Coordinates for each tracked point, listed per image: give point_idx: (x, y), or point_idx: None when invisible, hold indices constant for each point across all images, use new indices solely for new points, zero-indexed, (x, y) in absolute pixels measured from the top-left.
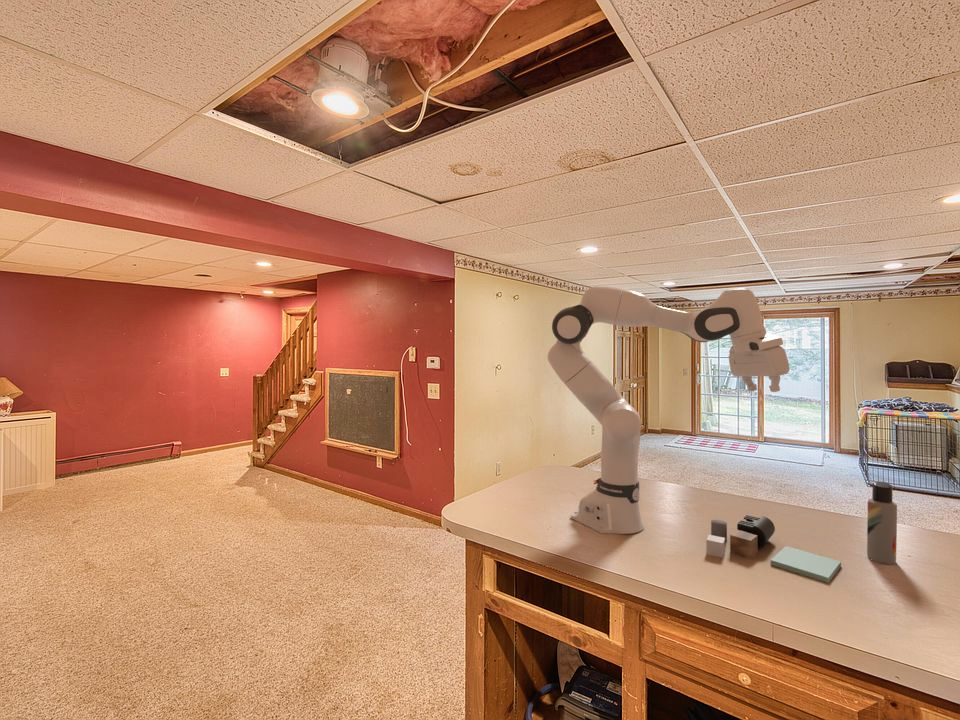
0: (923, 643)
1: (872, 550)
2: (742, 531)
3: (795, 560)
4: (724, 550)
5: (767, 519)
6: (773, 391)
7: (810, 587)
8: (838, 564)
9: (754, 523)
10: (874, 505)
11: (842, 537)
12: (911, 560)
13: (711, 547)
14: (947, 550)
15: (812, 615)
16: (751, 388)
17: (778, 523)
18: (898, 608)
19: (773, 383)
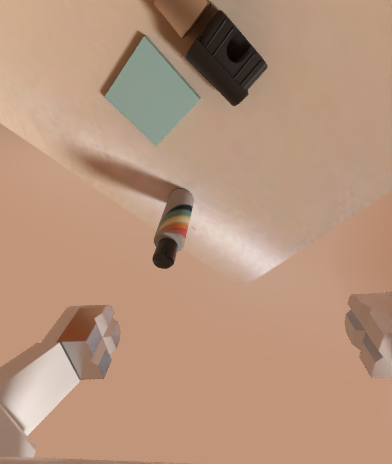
0: (5, 109)
1: (176, 194)
2: (198, 11)
3: (149, 82)
4: None
5: (234, 95)
6: (81, 306)
7: (86, 59)
8: (147, 137)
9: (219, 56)
10: (162, 230)
11: (241, 201)
12: None
13: None
14: (206, 263)
15: (4, 7)
16: (366, 313)
17: (300, 150)
18: (69, 135)
19: (7, 364)
